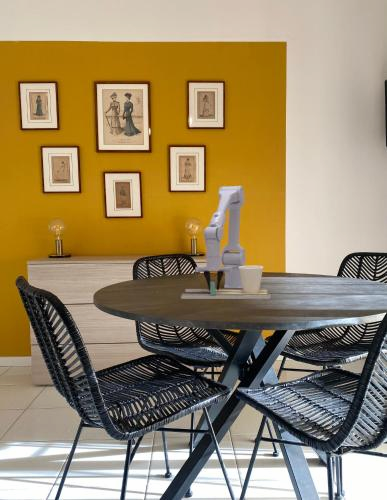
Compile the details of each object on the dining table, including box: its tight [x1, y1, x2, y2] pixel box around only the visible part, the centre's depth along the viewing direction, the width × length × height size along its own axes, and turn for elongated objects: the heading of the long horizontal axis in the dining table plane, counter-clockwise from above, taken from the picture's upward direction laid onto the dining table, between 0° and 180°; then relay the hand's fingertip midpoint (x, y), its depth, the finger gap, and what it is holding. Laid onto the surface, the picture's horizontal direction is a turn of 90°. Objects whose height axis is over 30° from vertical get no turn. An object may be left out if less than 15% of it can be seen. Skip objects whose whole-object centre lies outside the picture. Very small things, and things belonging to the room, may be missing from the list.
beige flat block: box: [209, 279, 269, 294], centre depth 201 cm, size 11×23×6 cm, turn 85°
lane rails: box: [180, 282, 272, 300], centre depth 200 cm, size 17×34×6 cm, turn 85°
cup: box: [239, 265, 264, 293], centre depth 201 cm, size 10×10×11 cm
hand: (213, 289), depth 202 cm, fingers open, 3 cm apart
